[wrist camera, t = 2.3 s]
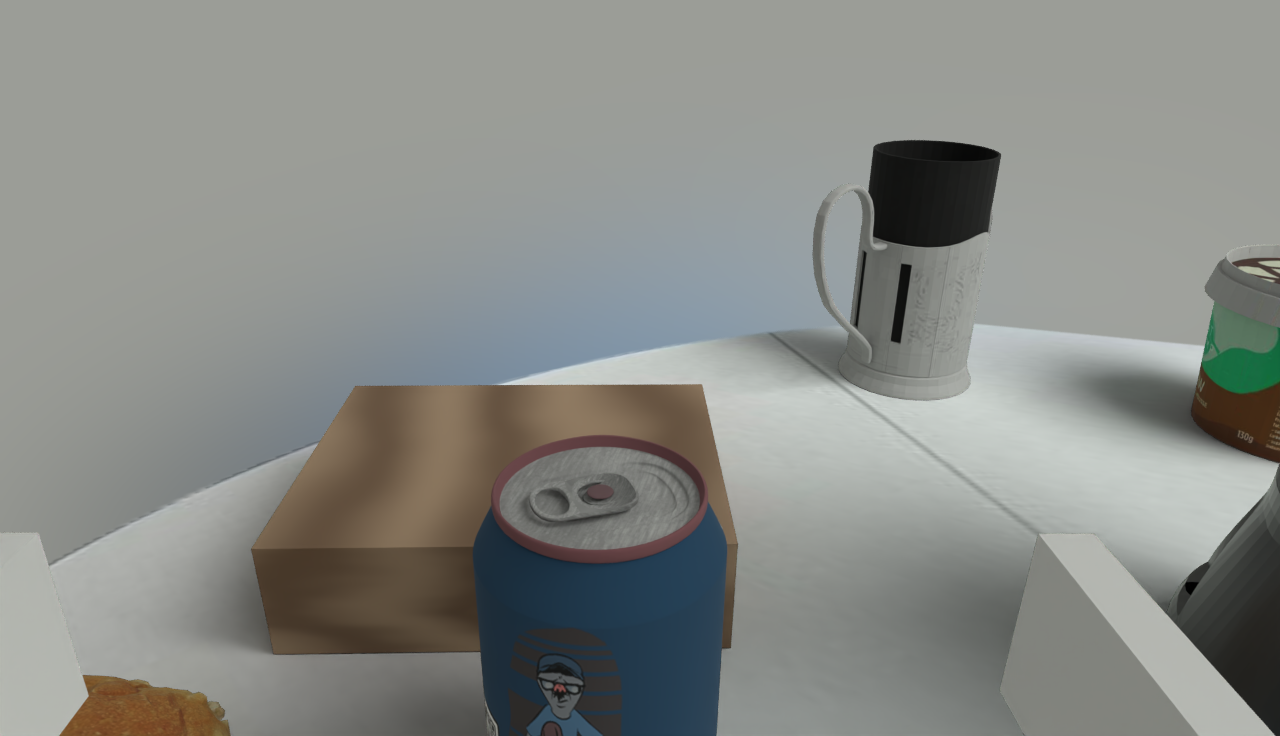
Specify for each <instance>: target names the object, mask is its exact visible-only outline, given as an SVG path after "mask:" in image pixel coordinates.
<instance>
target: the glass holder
mask: <svg viewBox="0 0 1280 736" xmlns="http://www.w3.org/2000/svg"><path fill="white" fill-rule="evenodd" d="M1000 159H1001V154H1000V153H999V152H997V151H995V150H992V149H989V148H985V147H981V146H976V145H971V144H963V143H955V142H945V141H925V140H924V141H923V140H907V141H905V140H904V141H892V142H884V143H880V144H877V145H875V146H874V149H873V157H872V166H871V175H870V182H869V191H868V192H867V191H866V190H865V189H864V188H863V187H862V186H858V185H854V184H845V185H841V186H839V187H837V188H836V189H834V190H833V191H831V192H830V193H829V195H828V196H827V197H826V198H825V199H824V200H823V202H822V205H821V207H820V209H819V211H818V214H817V217H816V223H815V228H814V238H813V265H814V275H815V279H816V283H817V287H818V291H819V294H820V297H821V299H822V302H823V305H824V306H825V308H826V309H827V310H828V312H829V313H830V314H831V315H832V316H833V317H834V318H835V319H836V320H837V321H838V323H839V324H840V325H841V326H842V327H843V328H844V329H845V330H846V331H847V332H849V336H848V344H847V348H846V351H845V353H844V354H843V355H842V357H841V359H840V361H839V364H838V367H839V371H840V373H841V374H842V375H843V376H844V377H845V379H847V380H848V381H850V382H851V383H853V384H854V385H856V386H858V387H860V388H863V389H865V390H868V391H870V392H874V393H877V394H880V395H884V396H889V397H894V398H900V399H909V400H938V399H944V398H950V397H953V396H956V395H959V394H961V393H963V392H964V391H965V390H967V389H968V387H969V385H970V374H969V372H968V369H967V358H968V353H969V347H970V342H971V336H972V330H973V325H974V319H975V314H976V308H977V302H978V297H979V292H980V286H981V280H982V275H983V269H984V264H985V259H986V253H987V248H988V242H989V236H990V230H991V224H992V203H993V198H994V192H995V186H996V180H997V175H998V170H999V164H1000ZM853 190H854V191H855V192H856V193H857V194H858V196H859V198H860V201H861V204H862V211H863V217H862V218H863V219H862V226H861V234H860V243H859V252H858V260H857V268H856V277H855V285H854V294H853V302H852V310H851V311H852V312H851V320H850V323H849V322H848V321H847V320H846V319H845V318H844V317H843V315H842V314H841V313H840V312H839V310H838V309H837V307H836V306H835V304H834V301H833V299H832V296H831V294H830V291H829V287H828V283H827V279H826V274H825V263H824V243H825V231H826V225H827V220H828V216H829V214H830V212H831V210H832V207H833V205H834V204H835V203H836V201H837V200H838V199H839V198H840V197H841V196H842V195H844V194H846V193H847V192H849V191H853Z"/></svg>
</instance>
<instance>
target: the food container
mask: <svg viewBox="0 0 1280 736" xmlns="http://www.w3.org/2000/svg"><path fill="white" fill-rule="evenodd" d="M1205 292H1206V293H1207V294H1208V296H1209V297H1210V298H1212V299H1213V300H1214V306H1213V310H1212V315H1211V320H1210V325H1209V330H1208V334H1207V339H1206V344H1205V348H1204V353H1203V358H1202V362H1201V367H1200V372H1199V377H1198V381H1197V386H1196V391H1195V395H1194V400H1193V405H1192V410H1191V416H1192V418H1193V420H1194V421H1195V422H1196V424H1197V425H1198V426H1199V427H1200V428H1202V429H1203V430H1204V431H1205V432H1207V433H1208V434H1210V435H1211V436H1213V437H1214V438H1216V439H1218V440H1220V441H1222V442H1224V443H1225V444H1228V445H1230V446H1232V447H1234V448H1236V449H1239V450H1241V451H1244V452H1247V453H1249V454H1252V455H1255V456H1258V457H1261V458H1264V459H1267V460H1271V461H1274V462H1278V463H1280V244H1273V245H1272V244H1271V245H1250V246H1245V247H1239V248H1235V249H1233V250H1231V251H1229V252H1228V253H1227V255H1226V257H1225V259H1223V260H1221V261H1220V262H1219V263H1218V265H1217V266H1216V268H1215V270H1214V271H1213V273H1212V275H1211V276H1210V278H1209V280H1208V282H1207V284H1206V285H1205Z"/></svg>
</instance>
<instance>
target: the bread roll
mask: <svg viewBox="0 0 1280 736" xmlns="http://www.w3.org/2000/svg"><path fill="white" fill-rule="evenodd" d="M82 676H83V679H84V682H85V685H86V689H87V692H88V695H89V696H88V698H87V699H86V700H85V702H84V703H83V704H82V706H81V707H80V708H79V710H78V711H77V712H76V714H75V715H74V716H73V718H72V719H71V720H70V722H69V723H68V724H67V726H66V727H65V728H64V730H63V731H62V732H61V734H60V735H59V736H231V735H230V729H229V724H228V720H223V721H221V720H222V718H223V717H224V715H225V710H224V709H223V708H221V706H220V704H219V702H211V701H209V702H207V696H205V695H204V694H202V693H200V692H197V693H191V692H190V691H188V690H178V689H172V688H167V687H165V688H159V687H152V686H150V685H149V683H148V682H146V681H143V680H131V681H128V680H125V679H121V678H117V677H109V676H91V675H82Z"/></svg>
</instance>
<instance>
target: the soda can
mask: <svg viewBox="0 0 1280 736" xmlns="http://www.w3.org/2000/svg"><path fill="white" fill-rule="evenodd" d="M726 566H727V541H726V537H725V534H724V531H723V529H722V526H721V524H720V522H719V521H718V519H717V517H716V515H715V513H714V511H713V509H712V508H711V506H710V504H709V502H708V488H707V484H706V481H705V479H704V477H703V475H702V473H701V472H700V471H699V469H698V468H697V467H696V466H695V465H694V464H693V463H692V462H691V461H690V460H688V459H687V458H686V457H684V456H683V455H681V454H679V453H678V452H676V451H674V450H672V449H670V448H667V447H665V446H662V445H660V444H656V443H653V442H650V441H646V440H642V439H637V438H632V437H625V436H617V435H588V436H580V437H573V438H568V439H563V440H559V441H555V442H551V443H548V444H545V445H542V446H539V447H537V448H534V449H532V450H530V451H528V452H526V453H524V454H522V455H520V456H519V457H517V458H516V459H514V460H513V461H512V462H510V463H509V464H508V465H507V466H506V467H505V468H504V469H503V470H502V471H501V473H500V474H499V475H498V477H497V478H496V480H495V482H494V485H493V488H492V493H491V507H490V509H489V511H488V513H487V514H486V516H485V518H484V520H483V522H482V524H481V526H480V529H479V531H478V533H477V535H476V538H475V541H474V546H473V567H474V579H475V591H476V603H477V615H478V627H479V639H480V651H481V663H482V674H483V686H484V698H485V710H486V722H487V734H488V736H716V733H717V717H718V700H719V683H720V667H721V650H722V633H723V616H724V600H725V583H726Z"/></svg>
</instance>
